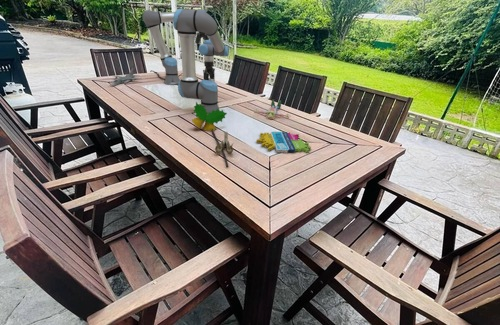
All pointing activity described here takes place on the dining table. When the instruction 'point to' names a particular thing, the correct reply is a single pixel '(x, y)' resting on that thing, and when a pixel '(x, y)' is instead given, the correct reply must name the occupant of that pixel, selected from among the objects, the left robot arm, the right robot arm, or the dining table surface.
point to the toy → (272, 110)
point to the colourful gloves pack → (283, 142)
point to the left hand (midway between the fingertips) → (202, 50)
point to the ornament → (207, 117)
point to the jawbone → (224, 145)
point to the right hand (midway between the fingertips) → (209, 89)
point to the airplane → (124, 78)
